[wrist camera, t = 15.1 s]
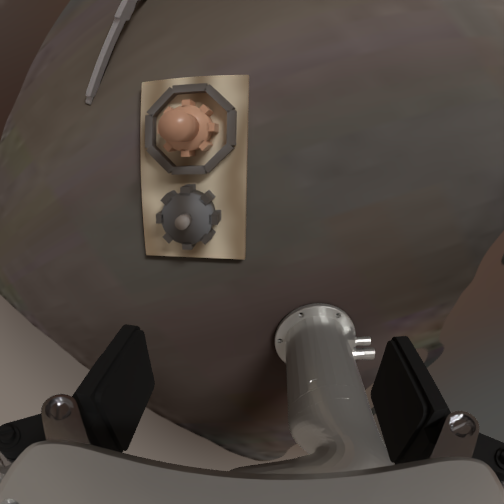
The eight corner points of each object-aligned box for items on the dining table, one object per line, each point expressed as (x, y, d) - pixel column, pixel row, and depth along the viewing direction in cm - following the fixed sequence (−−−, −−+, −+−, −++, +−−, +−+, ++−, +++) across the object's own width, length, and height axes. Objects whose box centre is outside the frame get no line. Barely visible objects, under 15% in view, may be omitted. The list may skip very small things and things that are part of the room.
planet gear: (219, 101, 34) (207, 91, 27) (218, 155, 36) (205, 157, 29) (166, 104, 34) (143, 96, 27) (165, 156, 36) (142, 159, 29)
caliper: (150, -13, 29) (134, -30, 23) (156, -12, 29) (141, -30, 23) (87, 103, 35) (62, 99, 30) (92, 105, 36) (67, 101, 30)
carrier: (249, 77, 34) (245, 64, 28) (245, 256, 42) (241, 274, 36) (145, 84, 34) (125, 75, 28) (149, 252, 42) (132, 268, 36)
